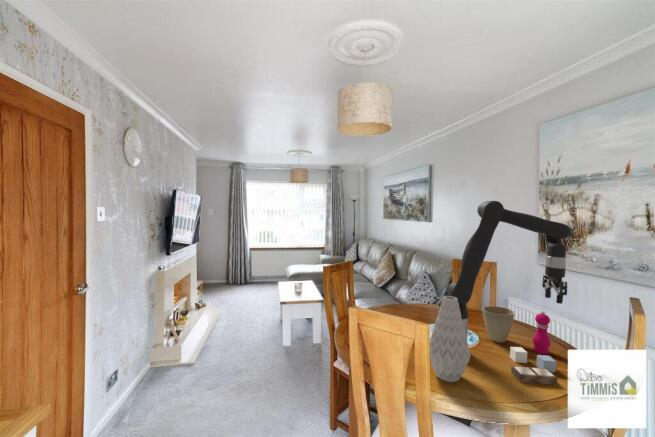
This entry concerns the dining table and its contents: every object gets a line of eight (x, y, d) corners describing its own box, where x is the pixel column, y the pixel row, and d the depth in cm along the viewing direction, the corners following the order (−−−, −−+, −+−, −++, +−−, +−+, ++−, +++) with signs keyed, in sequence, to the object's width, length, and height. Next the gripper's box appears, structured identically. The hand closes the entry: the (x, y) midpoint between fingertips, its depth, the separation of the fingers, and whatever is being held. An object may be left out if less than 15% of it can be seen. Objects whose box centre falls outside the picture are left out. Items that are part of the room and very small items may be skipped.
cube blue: (543, 371, 132) (543, 360, 132) (536, 365, 137) (537, 354, 137) (555, 372, 131) (556, 361, 131) (548, 366, 136) (549, 355, 136)
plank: (519, 382, 123) (519, 374, 123) (511, 372, 130) (511, 365, 130) (556, 384, 122) (557, 377, 122) (546, 375, 129) (546, 368, 129)
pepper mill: (545, 355, 146) (546, 314, 146) (529, 349, 153) (530, 309, 152) (553, 352, 150) (555, 312, 149) (537, 346, 156) (539, 307, 155)
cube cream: (515, 362, 140) (515, 351, 139) (509, 357, 145) (510, 346, 144) (526, 363, 139) (527, 352, 139) (521, 357, 144) (521, 347, 144)
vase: (430, 362, 138) (433, 289, 137) (471, 372, 130) (474, 296, 129) (421, 379, 124) (424, 299, 123) (466, 393, 115) (469, 306, 114)
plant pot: (502, 334, 171) (503, 305, 171) (519, 346, 157) (521, 315, 156) (476, 333, 171) (477, 305, 170) (491, 345, 156) (492, 314, 156)
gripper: (538, 263, 151) (536, 295, 151) (556, 268, 137) (554, 304, 137) (554, 263, 150) (552, 296, 151) (574, 269, 136) (572, 305, 136)
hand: (553, 300), depth 144 cm, fingers open, 8 cm apart
